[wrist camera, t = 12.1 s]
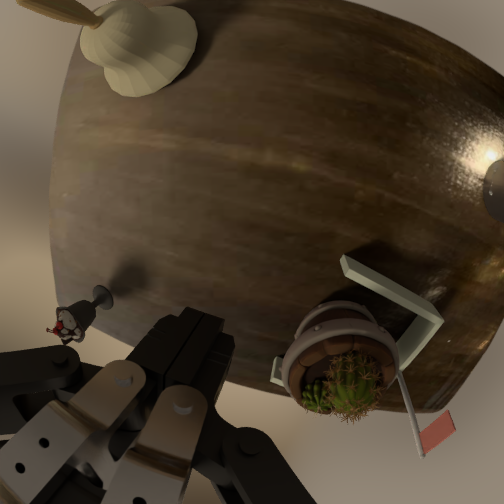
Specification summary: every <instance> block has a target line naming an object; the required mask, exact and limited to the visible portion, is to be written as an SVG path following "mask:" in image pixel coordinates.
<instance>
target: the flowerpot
mask: <svg viewBox="0 0 504 504" xmlns="http://www.w3.org/2000/svg"><path fill="white" fill-rule="evenodd" d="M399 363H400V362H399V352H398V348H397V345H396V343H395V341H394V339H393V338H392V336H391V335H390V334H389V332H388V331H387V330H385V329H384V327H381V326H379V325H377V322H376V320H375V319H374V317H373V316H372V314H371V313H370V312H369V311H368V310H367V309H366V307H365V305H362V306H361V305H360V304H358V303H355V302H351V301H344V300H338V301H330V302H326V303H323V304H320V305H319V306H317V307H315V308H314V309H313V310H311V311H310V312H309V313H308V314H307V315H306V316H305V318H304V319H303V320H302V322H301V324H300V326H299V328H298V330H297V332H296V334H295V341H294V342H293V343H292V345H291V346H290V347H289V349H288V351H287V352H286V354H285V356H284V359H283V362H282V366H280V367H279V370H280V371H281V376H282V382H283V385H284V387H285V389H286V390H287V392H288V393H290V395H291V396H292V398H293V399H294V400H295V401H296V402H297V403H298V404H299V405H300V406H302V407H303V408H304V409H307V410H310V411H313V412H315V413H320V414H330V413H331V412H333V413H334V412H335V413H336V414H335V413H334V414H335V415H337V413H339V414H341V413H342V414H343V413H344V414H345V413H346V417H347V418H346V417H345V416H344V414H343V416H344V417H345V418H346V419H348V417H349V418H352V420H353V423H354V418H355V420H356V417H357V415H358V414H359V415H358V417H357V418H358V420H359V416H362V415H363V413H362V412H363V411H365V412H364V413H365V415H363V416H367V415H366V413H367V412H366V411H370V410H368V409H372V408H370V407H373V408H374V406H375V404H376V403H378V401H379V399H380V398H382V397H383V395H384V394H385V392H386V390H387V389H388V388H389V387H390V386H391V384H392V383H393V382H394V380H395V378H396V376H397V374H398V371H399ZM375 407H376V406H375ZM377 408H378V407H377ZM371 411H373V409H372V410H371ZM351 414H352V415H354V416H353V417H350V415H351ZM343 419H344V418H343ZM346 419H344V420H346ZM344 420H343V421H344ZM350 420H351V419H350ZM347 423H348V420H347Z"/></svg>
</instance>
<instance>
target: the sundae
mask: <svg viewBox="0 0 504 504" xmlns="http://www.w3.org/2000/svg"><path fill="white" fill-rule="evenodd" d="M93 297H94V301H93V302H92V303H91V302H89V301H86V300H82V301H79V302H76V303H74V304H73V305H71V306H69V307H57V309H56V315H57V322H56V323H55V328H53V330H51V331H53V332H51V333H54V334H55V335H58V336H59V337H60V338H61V340H62V342H63V345H66V344H68V343H69V342H71V341H72V340H74V341H76V342H78V343H80V342H82V341H83V339H84V337H85V331H86V330H87V328H88V327H89V326H90V325H91V323H92V322H93V320H94V319H95V317H96V310H95V308H96V307H97V306H98V305H99V306H100V307H101V308H103V309H106V310H109V309H111V308H112V306H113V300H112V297H111V295H110V293H109V292H108V291H107V290H106V289H105V288H104V287H102V286H96V287H94V289H93ZM48 330H50V329H48V328H47V329H46V331H47V332H50V331H48Z"/></svg>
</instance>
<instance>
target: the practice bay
mask: <svg viewBox="0 0 504 504" xmlns="http://www.w3.org/2000/svg"><path fill="white" fill-rule="evenodd" d="M340 263H341V266H342V269H343V272H344V275H345V276H346V277H348V278H350V279H352V280H354V281H356V282H358V283H360V284H362V285H363V286H365V287H367V288H369V289H371V290H373V291H375V292H377V293H379V294H381V295H383V296H384V297H386V298H388V299H390V300H392V301H394V302H396V303H398V304H400V305H401V306H403V307H405V308H407V309H409V310H411V311H413V312H414V313H416V314H418V316H417V317H416V318H415V320H414V321H413V322H412V323H411V325H410V326H409V327H408V329H407V330H406V331H405V332H404V334H403V335H402V336H401V337H400V339H399V340H398V341H397V342H396V345H397V348H398V352H399V362H400V363H399V371H398V374H397V376H396V377H398V381H399V384H400V387H401V390H402V393H403V397H404V400H405V404H406V407H407V411H408V414H409V418H410V421H411V425H412V429H413V433H414V437H415V441H416V446H417V450H418V455H419V458H421V459H422V458H424V457H425V454H426V453H427V452H429V451H430V450H431V449H433V448H434V447H436V446H437V445H438V444H440V443H441V442H442V441H444V440H445V439H446V438H447V437H448V436H450V435H451V434H452V433H453V432H455V431H456V429H455V426H454V423H453V420H452V418H451V415H450V413H449V410H446V411H445V412H444V413H443V414H442V415H441V416H440V417H439V418H438V419H436V420H435V421H434V422H433V423H432V424H430V425H429V426H428V427H427V428H425V429H424V430H423V431H422V432H420V431H419V427H418V424H417V420H416V417H415V413H414V410H413V406H412V403H411V400H410V397H409V394H408V391H407V387H406V384H405V381H404V379H403V376H402V373H401V372H402V371H403V370H404V369H405V368H406V367H407V366H408V365H409V363H410V362H411V361H412V360H413V359H414V358H415V357H416V356H417V354H418V353H419V352H420V351H421V350H422V349H423V347H424V346H425V345H426V344H427V343H428V341H429V340H430V339H431V338H432V336H433V335H434V334H435V333H436V331H437V330H438V329H439V327H440V326H441V325H442V323H443V322H444V320H443V318H442V317H441V315H440V314H439V313H438V311H437V310H436V308H435V307H434V306H433V304H432V303H430V302H428V301H427V300H425V299H423V298H422V297H420V296H418V295H416V294H415V293H413V292H411V291H409V290H408V289H406V288H404V287H402V286H401V285H399V284H397V283H395V282H394V281H392V280H390V279H388V278H386V277H385V276H383V275H381V274H379V273H377V272H376V271H374V270H372V269H370V268H368V267H367V266H365V265H363V264H361V263H359V262H357V261H355V260H354V259H352V258H350V257H348V256H346V255H344V254H343V256H342V258H341V259H340ZM282 362H283V358H280V357H278V356H277V357H276V358H275V359H274V363H273V369H272V374H271V380H270V381H271V382H274V383H276V384H279V385H281V386H284V385H283V382H282V376H281V371H280V370H279V367H280V366H282Z"/></svg>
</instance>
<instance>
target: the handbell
mask: <svg viewBox="0 0 504 504" xmlns="http://www.w3.org/2000/svg"><path fill="white" fill-rule="evenodd" d="M16 2H17V4H19V5H20V6H23V7H25V8H27V9H30V10H32V11H35V12H37V13H40V14H42V15H45V16H48V17H51V18H53V19H56V20H60V21H63V22H68V23H73V24H78V25H84V28H83V30H82V33H81V37H80V47H81V50H82V52H83V54H84V56H85V57H86V58H87V59H88V60H89V61H91V62H93V63H95V64H97V65H100V66H103V67H104V73H105V78H106V80H107V81H108V83H109V85H110V86H111V88H112V89H113V90H114V91H116V92H117V93H119V94H121V95H122V96H129V97H140V96H144V95H147V94H151V93H154V92H156V91H157V90H159V89H161V88H162V87H164V86H166V85H167V84H169V83H171V82H172V81H173V80H174V78H175V77H176V76H177V75H178V74H179V73H180V72H181V71H182V70H183V69H184V68H185V67H186V65H187V63H188V61H189V60H190V58H191V56H192V54H193V53H194V51H195V46H196V41H197V36H198V33H197V29H196V24H195V20H194V19H193V18H192V17H191V16H190V15H189V14H188V13H187V12H186V11H185V10H182V9H179V8H177V7H174V6H159V7H153V8H150V9H148V8H147V7H146V6H144V5H143V4H142V3H140V2H137V1H133V0H116V1H112V2H110V3H108V4H106V5H104V6H102V7H101V8H99V9H98V10H97V11H96V12H95V13H93V12H91V11H90V10H89V9H88V8H86V7H85V6H84V5H82V4H81V3H79V2H77V1H76V0H16Z"/></svg>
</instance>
